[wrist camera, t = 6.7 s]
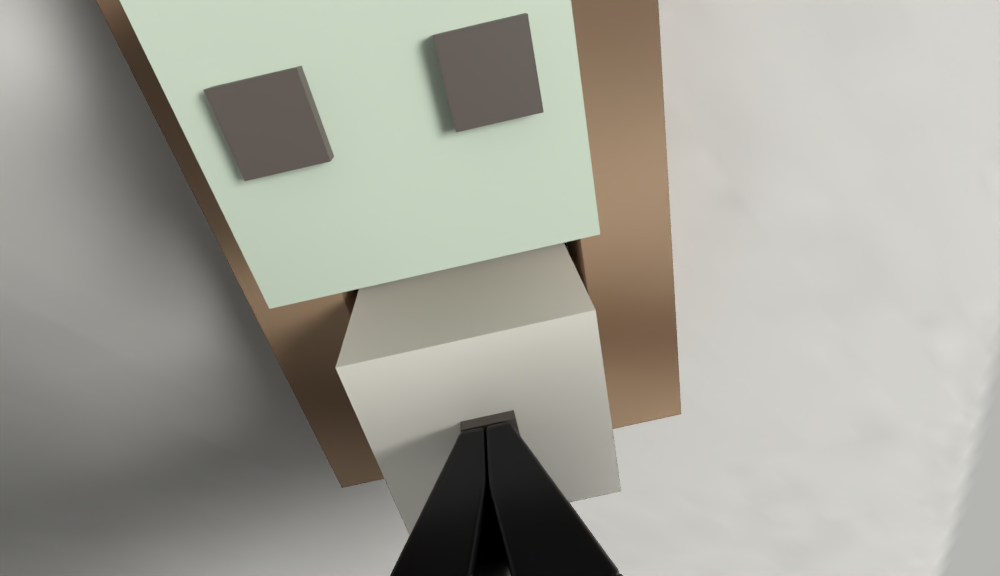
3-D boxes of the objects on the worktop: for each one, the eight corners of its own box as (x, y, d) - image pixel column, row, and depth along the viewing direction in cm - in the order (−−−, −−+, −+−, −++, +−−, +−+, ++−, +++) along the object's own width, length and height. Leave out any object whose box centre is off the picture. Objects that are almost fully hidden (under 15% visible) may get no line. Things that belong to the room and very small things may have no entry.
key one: (575, 362, 13) (624, 500, 10) (419, 396, 14) (409, 546, 10) (550, 214, 12) (598, 317, 8) (368, 255, 12) (332, 376, 8)
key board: (652, 362, 14) (681, 414, 12) (354, 427, 14) (342, 487, 13) (548, -850, 6) (590, -1198, 4) (-140, -665, 6) (-375, -930, 4)
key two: (545, 149, 10) (604, 241, 6) (331, 198, 10) (264, 318, 6) (501, -118, 8) (548, -218, 4) (237, -54, 8) (58, -97, 4)
